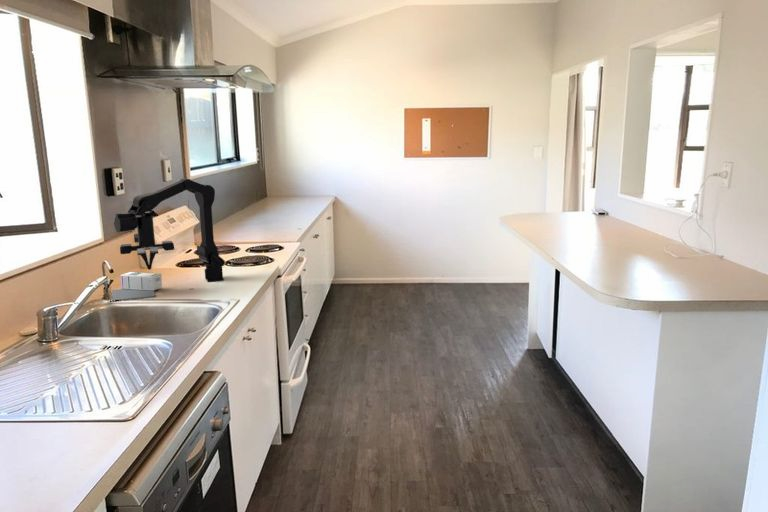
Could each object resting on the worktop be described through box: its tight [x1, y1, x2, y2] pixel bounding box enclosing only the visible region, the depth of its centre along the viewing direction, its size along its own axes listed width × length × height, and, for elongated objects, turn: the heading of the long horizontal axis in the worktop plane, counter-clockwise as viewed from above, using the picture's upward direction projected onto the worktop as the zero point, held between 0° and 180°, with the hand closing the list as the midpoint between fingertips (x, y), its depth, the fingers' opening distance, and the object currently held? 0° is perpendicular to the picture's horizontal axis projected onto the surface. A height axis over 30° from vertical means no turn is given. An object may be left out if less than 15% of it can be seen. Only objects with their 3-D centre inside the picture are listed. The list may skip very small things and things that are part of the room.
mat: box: [107, 288, 156, 302], centre depth 211 cm, size 16×16×1 cm
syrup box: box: [119, 271, 163, 292], centre depth 217 cm, size 6×6×14 cm
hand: (149, 269), depth 212 cm, fingers closed
